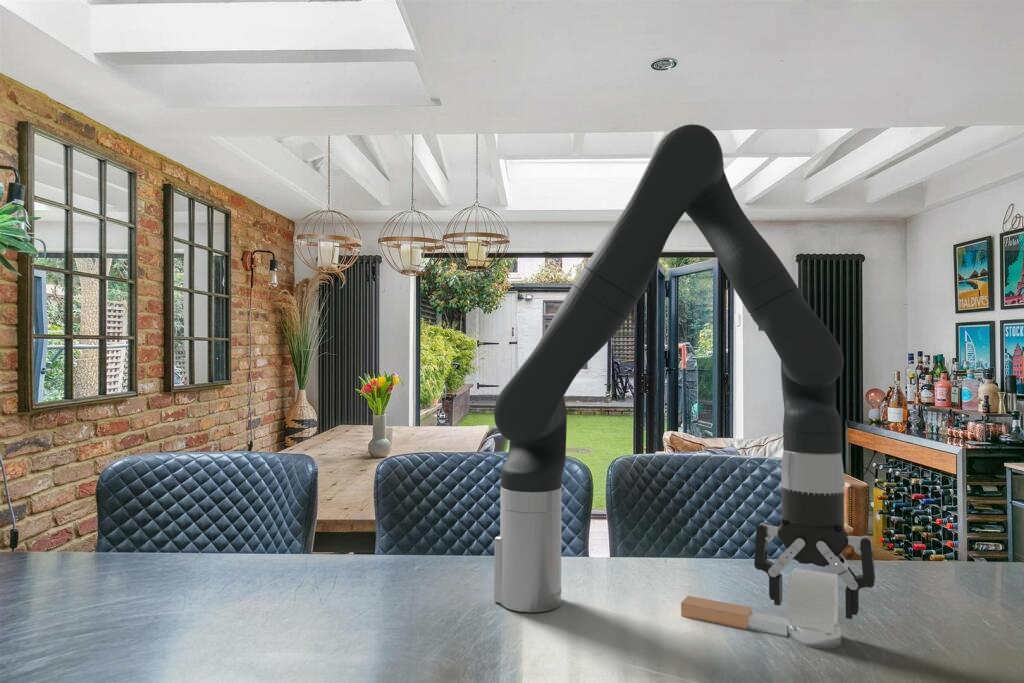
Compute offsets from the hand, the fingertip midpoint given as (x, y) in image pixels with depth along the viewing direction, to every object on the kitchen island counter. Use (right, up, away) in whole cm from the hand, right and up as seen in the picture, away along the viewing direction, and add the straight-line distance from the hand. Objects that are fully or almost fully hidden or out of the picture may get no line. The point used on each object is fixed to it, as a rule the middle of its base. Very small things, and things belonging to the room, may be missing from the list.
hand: (813, 610), depth 86 cm
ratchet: (-6, -4, +3) cm, 8 cm away
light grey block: (0, -2, 0) cm, 2 cm away
